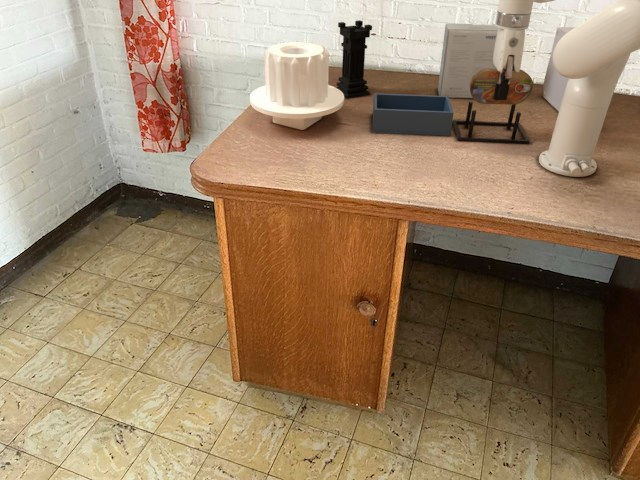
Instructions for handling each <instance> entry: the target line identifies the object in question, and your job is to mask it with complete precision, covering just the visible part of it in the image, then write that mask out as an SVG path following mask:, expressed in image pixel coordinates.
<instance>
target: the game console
mask: <svg viewBox="0 0 640 480" xmlns="http://www.w3.org/2000/svg"><path fill="white" fill-rule="evenodd" d="M575 27H576V26H564V27H563V26H558V27H556V31H555V35H554V39H553V43H552V47H551V50H550V55H549V59H548V63H547V68H546V72H545V76H544V79H543V84H542V97H543V98H544V99H545V100H546V101H547V102H548V103H549V104H550V105H551V106H552V107H553V108H554V109H555V110H556V111H557V112H559V110H560V106H561V102H562V99H563V95H564V92H565V88H566V86H567V83H568V80H569V78H566V77H564V76H562V75H560V74H559V73H558V72H557V71H556V69H555V67H554V64H553V52H554V49H555V47H556V45H557V43H558V41H559V40H560V39H561V38H562V37H563V36H564V35H565V34H566V33H568V32H569V31H571V30H572V29H574V28H575Z"/></svg>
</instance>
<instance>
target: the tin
mask: <svg viewBox="0 0 640 480" xmlns="http://www.w3.org/2000/svg"><path fill="white" fill-rule="evenodd" d="M503 71H506V69H503ZM503 75H505V74H502V76H503ZM498 76H499V71H498V70H497V69H483V70H480V71H478V72H477V73H476V74H475V75H474V76H473V77H472V79H471V81H470V86H469V87H470V93H471V96H472V98H471V99H473V100H474V101H475V102H476V103H479V104H481V105H511V106H512V105H513V104H516V105H518V104H522V103H523V102H525V101H526V100H527V99H528V98H529V97H530V95H531V93H532V92H533V87H534V82H533V79H532V77H531V75H530V74H529V73H527V72H526V71H524V70H523V69H520V71H519V72H518V73H516V72H515V71H514V70H513V69H512V78H511V80H510V86H509V91H508V96H507V100H494V98H493V97H494V92H495V86H496V83H498Z"/></svg>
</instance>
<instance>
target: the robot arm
mask: <svg viewBox="0 0 640 480" xmlns="http://www.w3.org/2000/svg"><path fill="white" fill-rule="evenodd" d="M554 1H555V0H498V4H497V11H496V15H495V16H496V17H495V23H494V24H495V26H496V27H498V32H497V37H496V42H495V48H494V54H493V63H494V65H495V67H496V68H495V69H497V70H498V71H499V76H498V83H496V86H495V92H494V97H493V98H494V100H507V96H508V91H509V86H510V80H511V78H512V69H513V70H514V71H515V72H516V73H518V72H519V71H520V70H521V66H522V60H523V55H524V54H523V53H524V47H525V39H526V30H528V29H529V27H530V21H531V15H532V12H533V6H534V3H535V4H544V3H550V2H554ZM574 27H575V28H574V29H572V30H571V31H569V32H568V33H566V34H565V35H564V36H563V37H562V38H561V39H560V40H559V41H558V43H557V45H556V47H555V49H554V52H553V64H554V67H555V69H556V71H557V72H558V73H559V74H560V75H562V76H564V77H566V78H569V80H568V83H567V86H566V88H565V92H564V95H563V99H562V102H561V106H560V110H559V111H558V114H557V116H556V121H555V124H554V128H553V132H552V135H551V139H550V142H549V147H548V149H547V150H545V151H542V152H541V153H540V155H539V157H538V163H539V164H540V165H541V166H542V167H543V168H544V169H546V170H547V171H549V172H551V173H553V174H557V175H560V176H564V177H571V178H572V177H573V178H581V177H583V178H584V177H588V176H591V175H593V174H594V173H595V172H596V171H597V167H598V164H597V162H596V161H595V160H594V159H593V156H594V153H595V150H596V148H597V145H598V141H599V139H600V135H601V132H602V129H603V125H604V122H605V119H606V118H607V117H606V116H607V113H608V111H609V107H610V105H611V101H612V99H613V96H614V93H615V90H616V87H617V85H618V82H619V80H620V78H621V75H622V74H623V72H624V70H625V67H626V65H627V64H628V61H629V59H630V57H631V54H632V53H634V52H636V51H639V50H640V0H617V1H615V2H614V3H613V2H612V4H610V5H608V6H606V7H604V8H603V9H602V10H600V11H599V12H597V13H595V14H594V15H593V16H591V17H589V18H587V19H586V20H584V21H582V22H581V23H580V24H578V25H576V26H574ZM503 69H506V71H503ZM502 74H505V75H503V76H502Z"/></svg>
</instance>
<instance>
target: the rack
mask: <svg viewBox="0 0 640 480" xmlns="http://www.w3.org/2000/svg"><path fill="white" fill-rule="evenodd" d="M473 104H474V102H473V101H469V102H468V105H467V109H466V111H467V112H466V117H465V120H459V119H458V120H456V119H453V121H452V126H453V129H454V133H455V137H456V139H457V142H474V143H475V142H477V143H478V142H479V143H500V144H501V143H502V144H521V145H522V144H523V145H529V144H530V139H529V137H528V135H527V133H526V132H525V130H524V128H523V126H522V125H521V122H520V120H521V115H522V112H520V111H517V112H516V115H515V111H516V110H515V109H516V107H517V104H513V105H512V104H511V105H510V111H509V114H508V115H509V117H508V120H507V122H505V121H504V122H503V121H479V120H476V115H477V110H475V109H474V110H472V109H473ZM514 116H515V119H514ZM513 120H514V122H513ZM458 125H464V128H465V129H468V133H467V136H462V135H461V133H460V129H459V126H458ZM474 126H491V127H493V126H494V127H506V130H507V131H511V129H512V132H511V137H510V138H494V137H472V136H473V132H474ZM512 127H513V128H512ZM517 132H519V134H520V136H521V138H522V139H518V138H517V139H516V137H517Z"/></svg>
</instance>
